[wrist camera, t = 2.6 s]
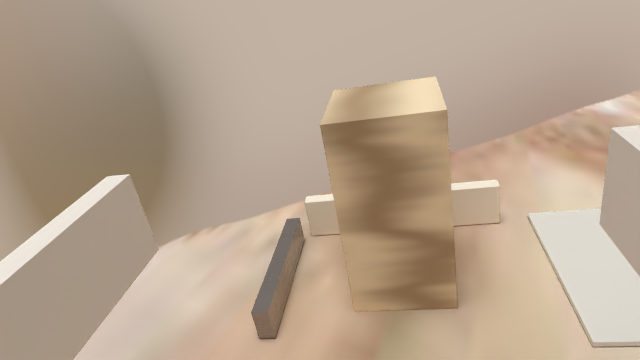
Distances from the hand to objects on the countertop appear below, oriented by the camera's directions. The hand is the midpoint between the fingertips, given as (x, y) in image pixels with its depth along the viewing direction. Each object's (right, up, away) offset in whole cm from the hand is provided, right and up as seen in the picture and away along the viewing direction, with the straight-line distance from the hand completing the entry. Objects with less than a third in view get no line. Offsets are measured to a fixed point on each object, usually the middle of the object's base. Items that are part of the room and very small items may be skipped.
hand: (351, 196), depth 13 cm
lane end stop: (-3, -6, +18) cm, 20 cm away
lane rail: (+5, -3, +22) cm, 23 cm away
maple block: (+5, -6, +16) cm, 18 cm away
